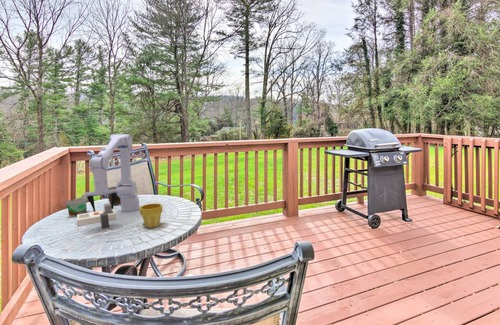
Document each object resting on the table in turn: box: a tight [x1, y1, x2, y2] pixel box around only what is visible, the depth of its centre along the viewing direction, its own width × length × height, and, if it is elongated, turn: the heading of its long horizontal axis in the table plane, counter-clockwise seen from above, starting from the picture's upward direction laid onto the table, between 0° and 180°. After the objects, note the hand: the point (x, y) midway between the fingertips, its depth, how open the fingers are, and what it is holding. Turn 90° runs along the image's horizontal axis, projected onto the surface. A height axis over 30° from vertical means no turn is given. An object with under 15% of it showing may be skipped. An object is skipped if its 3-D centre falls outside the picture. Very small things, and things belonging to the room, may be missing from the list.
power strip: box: [76, 208, 117, 227], centre depth 148 cm, size 17×10×5 cm, turn 122°
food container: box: [65, 194, 88, 218], centre depth 158 cm, size 12×6×10 cm, turn 168°
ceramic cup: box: [102, 186, 121, 206], centre depth 178 cm, size 13×10×10 cm
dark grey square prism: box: [100, 213, 110, 229], centre depth 138 cm, size 3×4×7 cm
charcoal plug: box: [103, 202, 112, 214], centre depth 151 cm, size 3×4×7 cm
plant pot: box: [139, 202, 163, 228], centre depth 141 cm, size 10×10×10 cm
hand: (103, 209), depth 138 cm, fingers open, 7 cm apart
